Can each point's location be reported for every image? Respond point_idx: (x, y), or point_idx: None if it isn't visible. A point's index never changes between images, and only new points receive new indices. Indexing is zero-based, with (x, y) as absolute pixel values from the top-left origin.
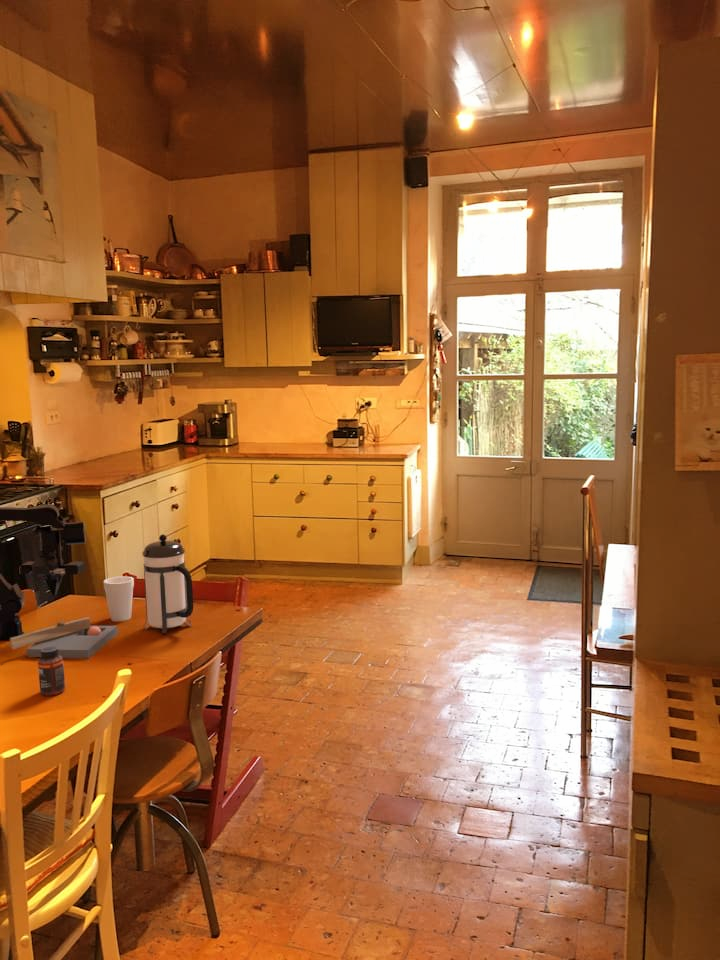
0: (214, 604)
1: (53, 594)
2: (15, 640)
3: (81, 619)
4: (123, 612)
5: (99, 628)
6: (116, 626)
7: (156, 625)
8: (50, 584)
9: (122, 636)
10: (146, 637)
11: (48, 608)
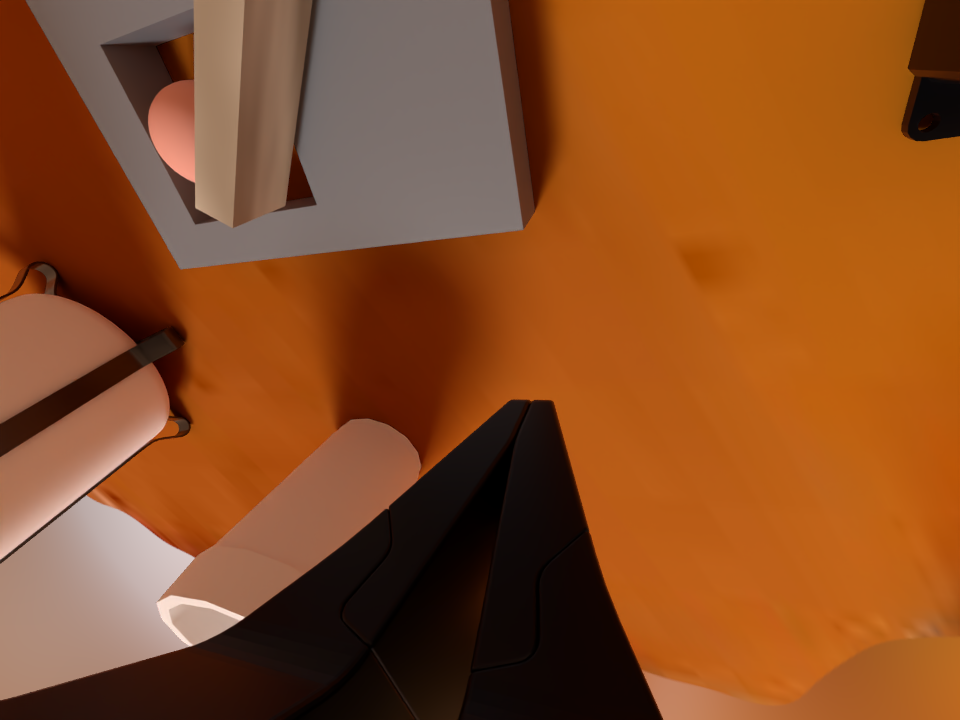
0: (211, 546)
1: (531, 405)
2: None
3: (213, 150)
4: (314, 452)
5: (166, 162)
6: (175, 259)
7: (43, 295)
8: (501, 544)
9: None
10: (66, 219)
11: (877, 609)
